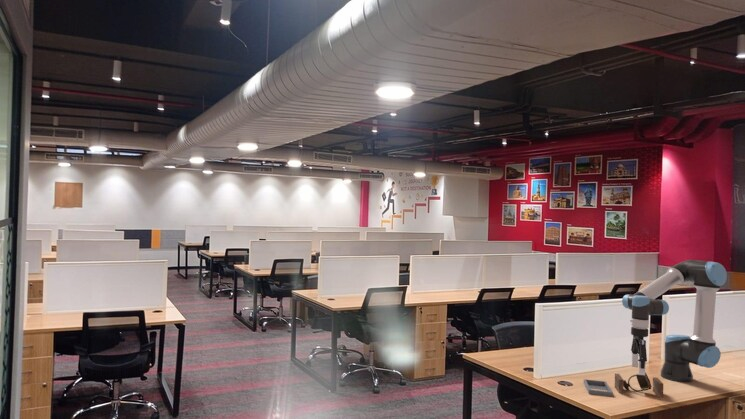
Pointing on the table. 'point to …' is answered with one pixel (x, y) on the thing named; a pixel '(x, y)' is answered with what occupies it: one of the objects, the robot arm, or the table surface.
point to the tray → (598, 387)
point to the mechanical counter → (642, 381)
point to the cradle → (656, 385)
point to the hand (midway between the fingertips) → (638, 370)
